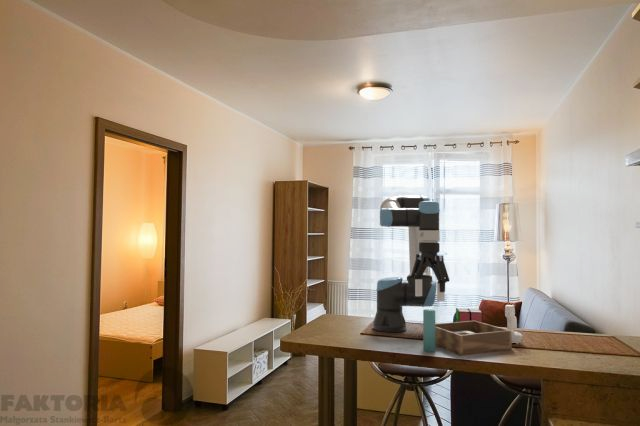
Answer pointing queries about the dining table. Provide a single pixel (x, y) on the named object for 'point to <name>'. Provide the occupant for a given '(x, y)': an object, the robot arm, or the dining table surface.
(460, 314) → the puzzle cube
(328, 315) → the dining table surface
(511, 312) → the figurine
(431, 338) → the teal peg
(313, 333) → the dining table surface
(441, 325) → the crate
